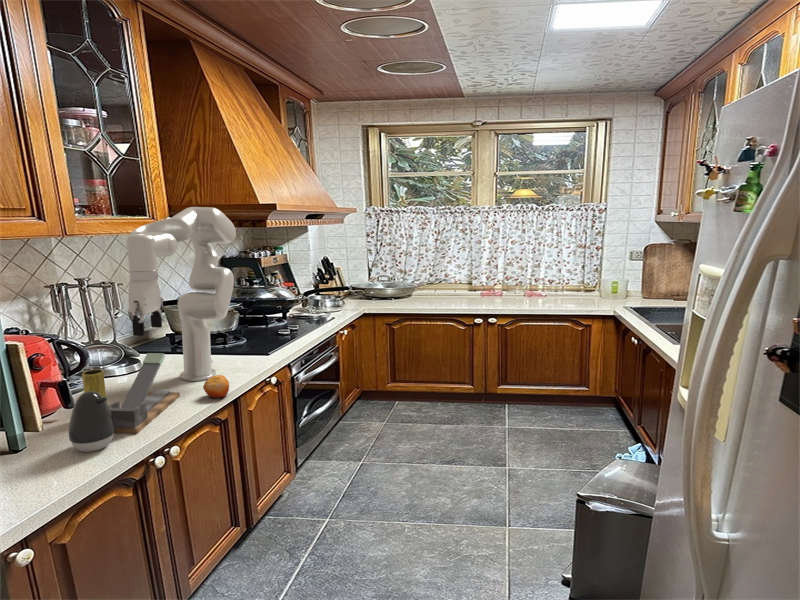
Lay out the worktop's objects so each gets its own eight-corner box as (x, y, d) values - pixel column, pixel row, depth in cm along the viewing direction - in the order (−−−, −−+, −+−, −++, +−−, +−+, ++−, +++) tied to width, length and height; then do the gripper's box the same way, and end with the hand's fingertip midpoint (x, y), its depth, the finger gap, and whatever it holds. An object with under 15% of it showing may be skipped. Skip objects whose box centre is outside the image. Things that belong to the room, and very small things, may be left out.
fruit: (234, 386, 169) (230, 371, 164) (228, 404, 163) (224, 389, 158) (210, 385, 169) (205, 370, 164) (204, 404, 163) (198, 389, 158)
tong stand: (149, 396, 162) (148, 377, 161) (179, 396, 162) (178, 378, 161) (100, 433, 135) (98, 411, 134) (137, 433, 135) (135, 411, 134)
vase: (81, 423, 141) (77, 375, 138) (88, 414, 146) (84, 369, 144) (105, 421, 142) (101, 374, 140) (111, 413, 148) (107, 367, 146)
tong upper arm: (147, 356, 156) (146, 353, 155) (166, 356, 156) (165, 353, 155) (116, 417, 139) (114, 414, 138) (137, 418, 139) (136, 414, 138)
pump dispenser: (93, 459, 121) (87, 401, 118) (60, 453, 123) (54, 396, 121) (126, 441, 130) (122, 387, 128) (95, 436, 133) (90, 382, 130)
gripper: (147, 271, 155) (151, 323, 158) (113, 279, 138) (119, 338, 141) (170, 272, 154) (174, 324, 158) (139, 280, 137) (144, 339, 141)
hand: (148, 331), depth 149 cm, fingers open, 9 cm apart
